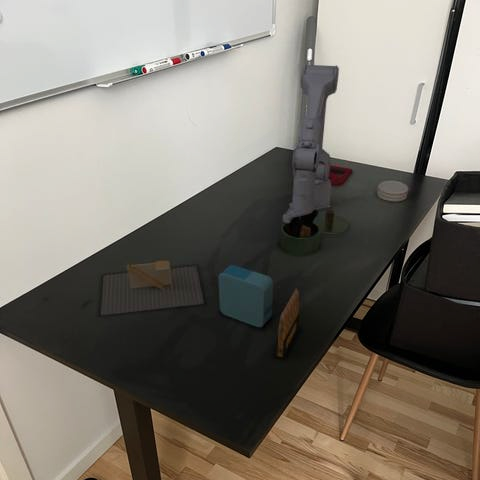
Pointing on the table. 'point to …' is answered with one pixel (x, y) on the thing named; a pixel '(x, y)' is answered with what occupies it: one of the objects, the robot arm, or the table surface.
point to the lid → (331, 223)
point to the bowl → (300, 240)
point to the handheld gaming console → (338, 175)
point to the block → (304, 232)
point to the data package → (246, 295)
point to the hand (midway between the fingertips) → (300, 236)
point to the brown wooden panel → (288, 325)
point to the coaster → (392, 191)
